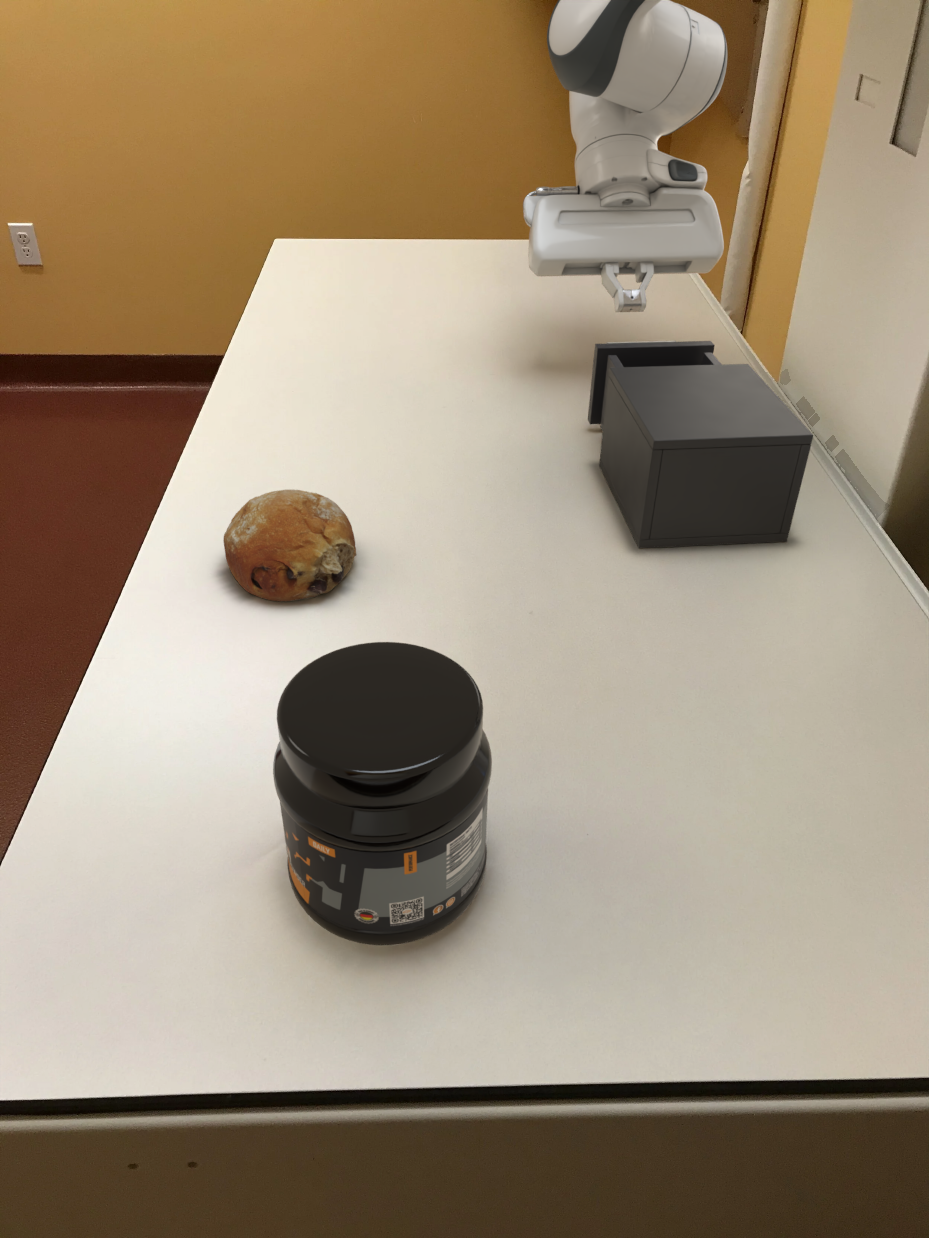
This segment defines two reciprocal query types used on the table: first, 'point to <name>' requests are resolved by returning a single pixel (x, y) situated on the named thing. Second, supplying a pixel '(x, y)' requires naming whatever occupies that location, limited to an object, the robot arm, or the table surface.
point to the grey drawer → (640, 364)
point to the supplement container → (383, 791)
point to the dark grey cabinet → (701, 455)
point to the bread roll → (289, 545)
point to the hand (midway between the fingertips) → (630, 309)
